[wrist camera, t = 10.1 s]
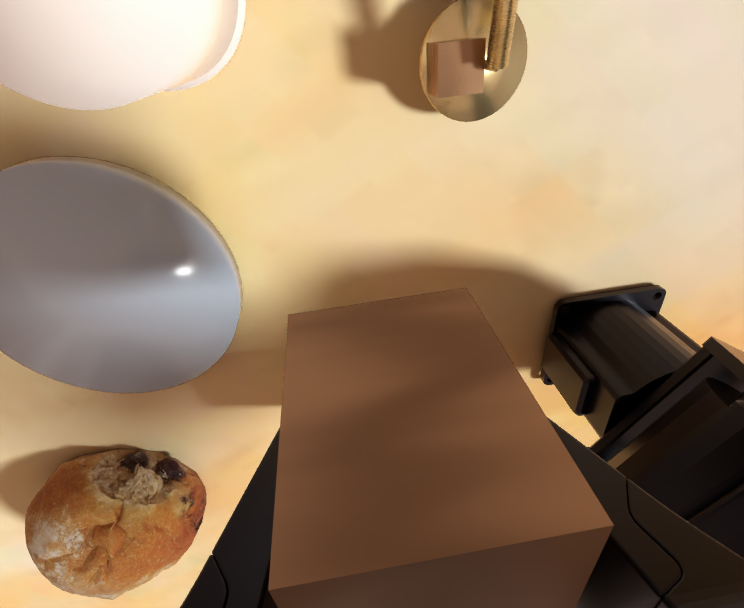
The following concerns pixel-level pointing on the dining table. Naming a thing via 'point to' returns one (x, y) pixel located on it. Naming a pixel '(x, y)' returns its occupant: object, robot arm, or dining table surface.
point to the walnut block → (422, 468)
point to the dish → (110, 277)
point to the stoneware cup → (114, 48)
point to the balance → (473, 58)
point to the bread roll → (113, 520)
